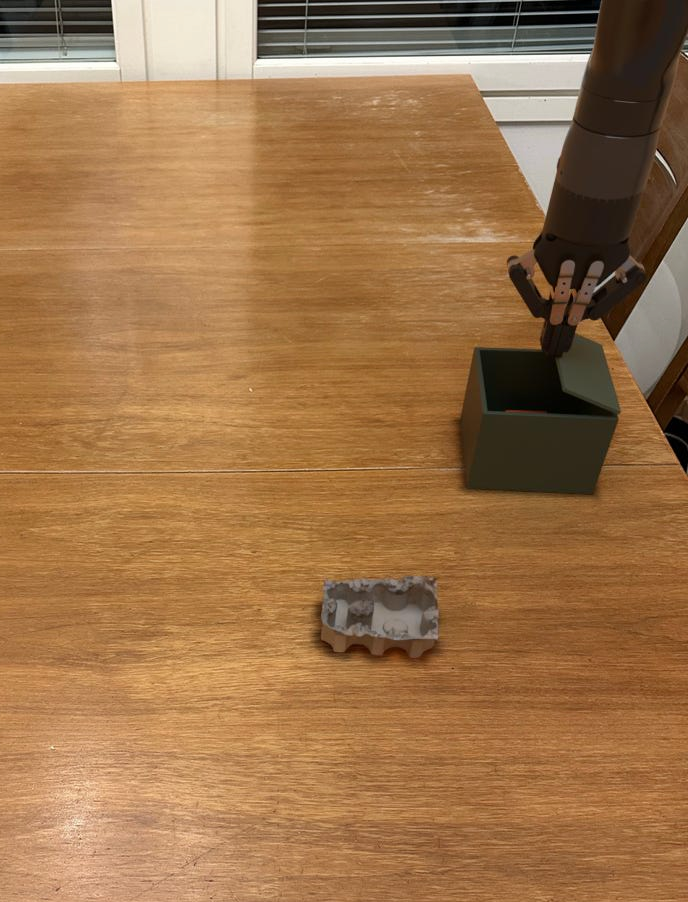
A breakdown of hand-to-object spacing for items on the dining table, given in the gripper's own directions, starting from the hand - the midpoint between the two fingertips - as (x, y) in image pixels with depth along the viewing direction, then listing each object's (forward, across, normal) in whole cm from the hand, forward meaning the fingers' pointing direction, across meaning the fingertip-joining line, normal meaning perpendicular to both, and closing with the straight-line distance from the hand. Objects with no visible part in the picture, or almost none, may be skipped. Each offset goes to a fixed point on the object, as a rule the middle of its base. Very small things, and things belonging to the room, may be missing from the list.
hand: (552, 353), depth 97 cm
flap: (+2, +3, 0) cm, 4 cm away
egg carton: (+13, -16, -27) cm, 34 cm away
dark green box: (+13, 0, 0) cm, 13 cm away
